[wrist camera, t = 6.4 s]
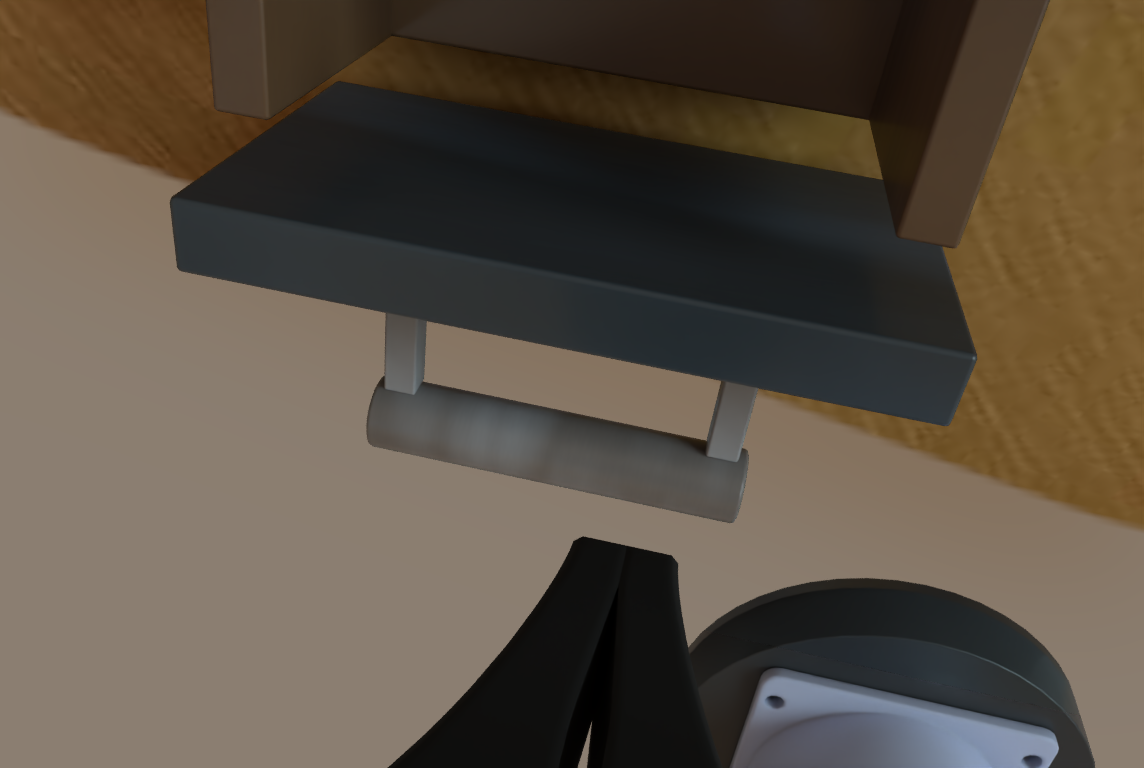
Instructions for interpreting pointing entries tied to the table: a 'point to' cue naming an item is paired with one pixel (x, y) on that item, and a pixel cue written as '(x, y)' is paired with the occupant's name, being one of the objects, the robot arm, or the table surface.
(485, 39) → the drawer
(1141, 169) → the table surface
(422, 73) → the table surface
